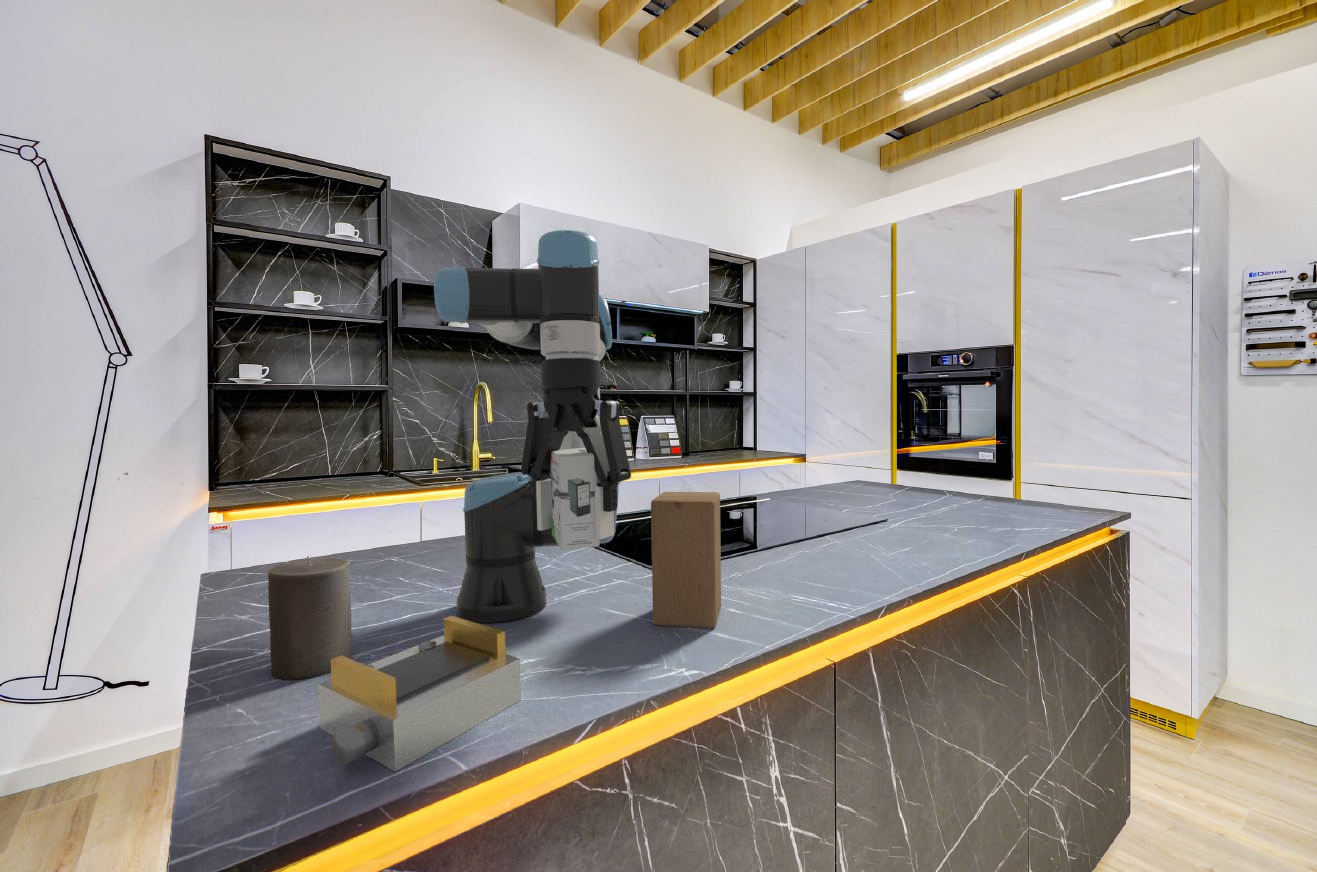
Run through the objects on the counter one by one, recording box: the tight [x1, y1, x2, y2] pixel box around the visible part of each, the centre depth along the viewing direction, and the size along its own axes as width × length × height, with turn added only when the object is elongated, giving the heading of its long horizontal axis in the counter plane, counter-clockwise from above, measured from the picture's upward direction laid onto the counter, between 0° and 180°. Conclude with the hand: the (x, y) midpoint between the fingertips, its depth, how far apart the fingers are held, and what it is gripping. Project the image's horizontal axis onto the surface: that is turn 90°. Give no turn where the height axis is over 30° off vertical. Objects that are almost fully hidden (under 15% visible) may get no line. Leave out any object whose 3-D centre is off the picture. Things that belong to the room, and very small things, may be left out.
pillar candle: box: [267, 555, 353, 681], centre depth 79 cm, size 10×10×15 cm
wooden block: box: [650, 491, 722, 629], centre depth 94 cm, size 10×10×20 cm
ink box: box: [551, 448, 600, 551], centre depth 74 cm, size 9×5×12 cm, turn 19°
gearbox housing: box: [318, 615, 522, 772], centre depth 64 cm, size 14×19×8 cm
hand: (574, 532), depth 75 cm, fingers closed on ink box, 9 cm apart
